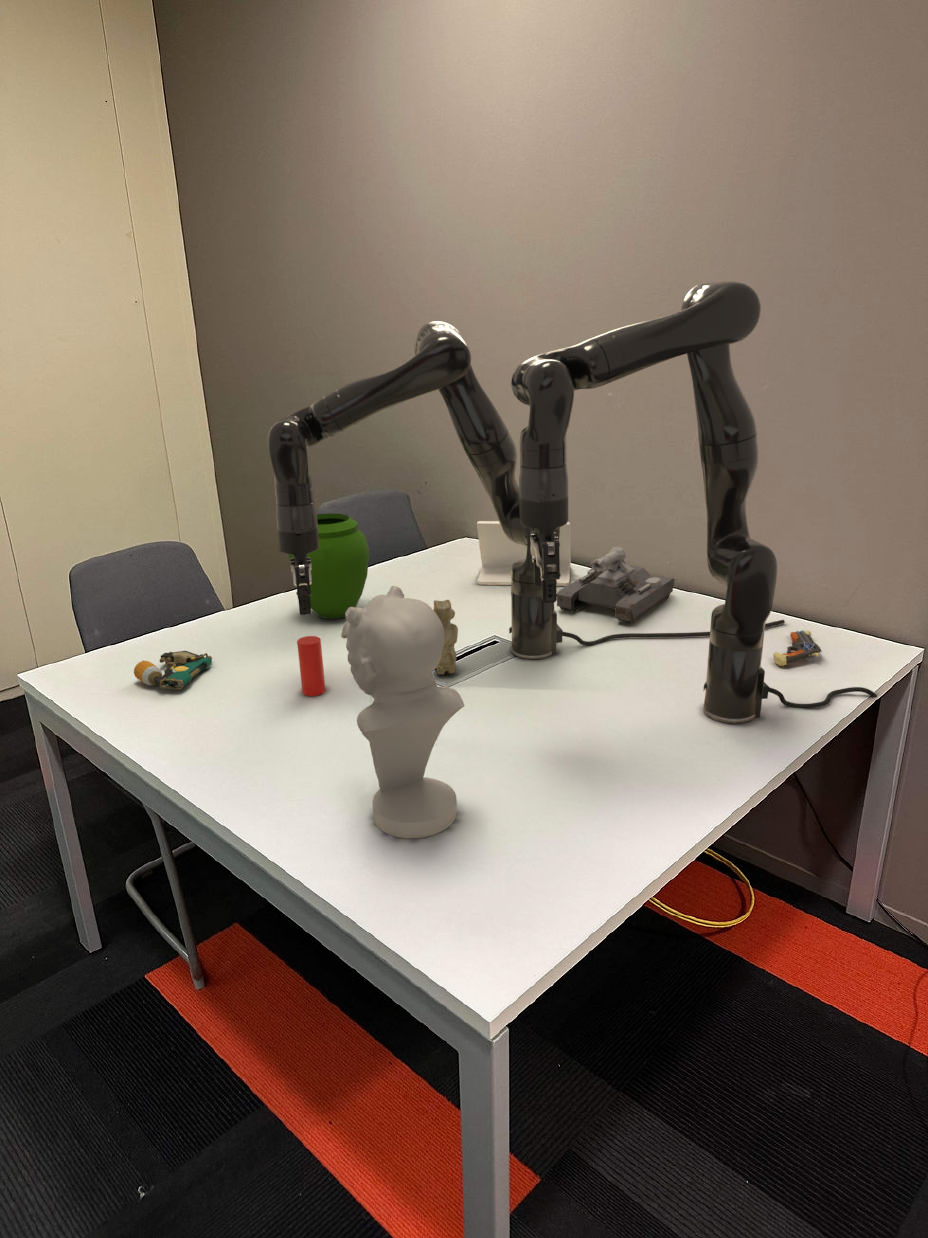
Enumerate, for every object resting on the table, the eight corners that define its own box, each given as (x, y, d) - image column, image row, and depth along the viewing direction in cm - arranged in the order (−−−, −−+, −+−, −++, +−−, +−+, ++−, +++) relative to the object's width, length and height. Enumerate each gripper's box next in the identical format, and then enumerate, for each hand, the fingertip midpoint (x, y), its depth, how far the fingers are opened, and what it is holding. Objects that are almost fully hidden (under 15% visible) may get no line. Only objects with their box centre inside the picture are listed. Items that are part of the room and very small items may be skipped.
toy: (603, 584, 229) (605, 530, 224) (673, 597, 218) (677, 540, 213) (555, 612, 210) (556, 553, 205) (630, 627, 199) (633, 566, 194)
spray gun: (177, 659, 191) (231, 671, 185) (120, 684, 176) (176, 698, 171) (176, 641, 190) (230, 653, 184) (118, 665, 175) (174, 678, 169)
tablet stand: (569, 585, 229) (570, 524, 223) (476, 584, 232) (475, 523, 226) (570, 566, 246) (571, 508, 240) (484, 564, 249) (483, 507, 243)
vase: (389, 608, 216) (383, 514, 208) (339, 633, 201) (330, 533, 192) (330, 596, 226) (322, 506, 218) (278, 619, 211) (267, 523, 202)
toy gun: (776, 657, 175) (828, 653, 173) (763, 629, 193) (810, 626, 191) (777, 669, 176) (828, 666, 174) (763, 640, 194) (810, 637, 191)
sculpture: (458, 662, 183) (456, 596, 178) (460, 676, 176) (457, 608, 171) (431, 663, 183) (428, 597, 177) (431, 677, 176) (428, 609, 171)
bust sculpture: (415, 752, 147) (404, 557, 135) (484, 821, 127) (478, 600, 115) (327, 777, 140) (307, 574, 128) (385, 855, 120) (368, 623, 108)
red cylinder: (297, 693, 171) (292, 642, 167) (312, 684, 175) (307, 634, 171) (315, 698, 169) (310, 646, 165) (330, 689, 173) (325, 638, 169)
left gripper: (276, 518, 167) (284, 597, 172) (277, 536, 154) (285, 621, 159) (315, 516, 168) (321, 594, 174) (319, 533, 155) (326, 617, 161)
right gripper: (576, 502, 125) (576, 607, 130) (560, 482, 138) (560, 578, 144) (525, 506, 124) (527, 610, 130) (513, 485, 138) (516, 581, 143)
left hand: (304, 607), depth 166 cm, fingers open, 8 cm apart
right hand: (545, 593), depth 137 cm, fingers open, 8 cm apart
